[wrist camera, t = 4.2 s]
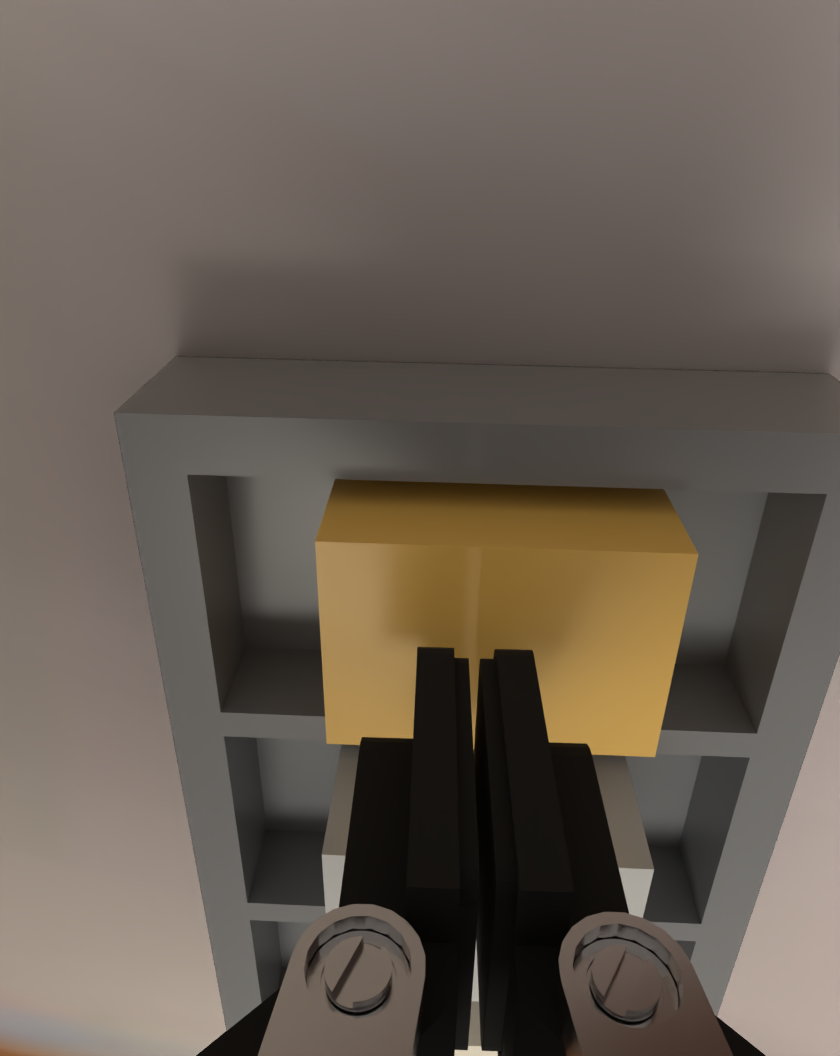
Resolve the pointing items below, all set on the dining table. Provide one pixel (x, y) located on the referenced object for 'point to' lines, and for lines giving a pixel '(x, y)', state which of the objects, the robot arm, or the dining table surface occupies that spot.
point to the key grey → (608, 767)
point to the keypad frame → (485, 458)
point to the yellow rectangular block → (503, 601)
